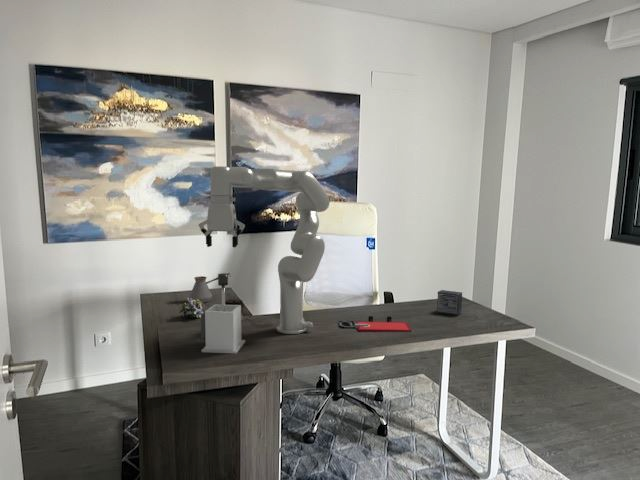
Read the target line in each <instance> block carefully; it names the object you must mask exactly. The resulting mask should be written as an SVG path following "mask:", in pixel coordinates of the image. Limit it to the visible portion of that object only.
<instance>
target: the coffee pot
mask: <svg viewBox="0 0 640 480" xmlns="http://www.w3.org/2000/svg"><path fill="white" fill-rule="evenodd" d="M227 274H228V277H231V274H230V272H228V273H227ZM193 278H194V280H195V282H194V284H193V287H192V289H191V292H190V295H189V299H190V298H192V299H193V300H195V301H196V300H197V299H198V300H199V299H200V300H201V302H202V303H203V304H205V302H206V303H209V301H210V300H211V299H212V297H213V295H212V292H211V290H210V288H209V286H208V284H210V283H212V282H214V281H218V276H217V277H216V278H213V279H211V280H209V281H206V279H207V278H208V277H207V276H201V275H200V276H195V277H193Z"/></svg>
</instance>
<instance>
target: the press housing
mask: <svg viewBox="0 0 640 480" xmlns="http://www.w3.org/2000/svg"><path fill="white" fill-rule="evenodd" d="M200 335H201V336H200V337H201V339H205V346H204V347H203V348H202V349H201V353H210V354H211V353H213V354H234V355H235V354H237V353H238V352H239V351H240V349H241V348H242V347H243V346H244V344H245V343H246V339H242V323H241V305H225V312H223V311H222V304H213V305H211V306H210V307H209V308H208V309H206V310H204V312H203V313H202V314H201V318H200Z"/></svg>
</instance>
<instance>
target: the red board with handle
mask: <svg viewBox="0 0 640 480" xmlns="http://www.w3.org/2000/svg"><path fill="white" fill-rule="evenodd" d="M338 323H339V327H341V328H342V327H343V328H354V329H357V332H360V333H361V332H364V333H365V332H373V333H374V332H375V333H376V332H380V333H381V332H383V333H385V332H386V333H387V332H388V333H389V332H390V333H392V332H397V333H401V332H403V333H405V332H406V333H407V332H409V333H412V328H410V326H409V324H408V323H407V322H406V321H392V316H386V321H374V316H373V315H371V316H370V315H369V316H368V319H367V321H355V322H354V320H338Z"/></svg>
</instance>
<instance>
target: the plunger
mask: <svg viewBox="0 0 640 480" xmlns="http://www.w3.org/2000/svg"><path fill="white" fill-rule="evenodd" d="M217 277H218V280H217V281H218V282H217V284H218V286H219V287H221V305H222V311H223V312H225V301H226V286H228V285H229V275H228V274H227V273H226V272H224V273H218V274H217Z"/></svg>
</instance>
